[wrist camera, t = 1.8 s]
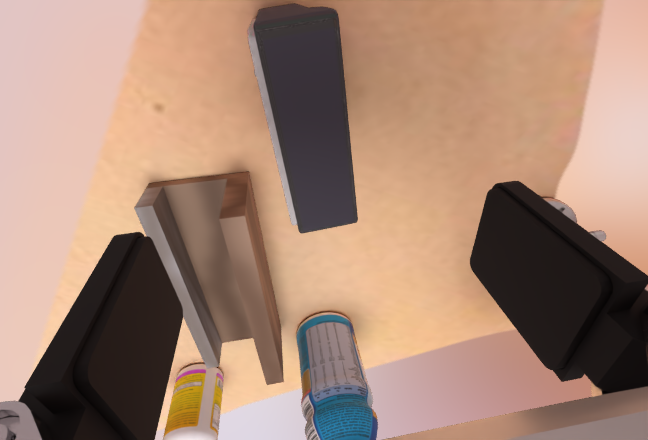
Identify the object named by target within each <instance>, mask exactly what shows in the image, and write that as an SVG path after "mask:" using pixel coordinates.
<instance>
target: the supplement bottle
mask: <svg viewBox="0 0 648 440" xmlns="http://www.w3.org/2000/svg"><path fill="white" fill-rule="evenodd" d="M222 391H223V374H222V372H221V371H220V370H219V369H218V368H216V367H213V368H206V365H205V364H195V365H191V366H188V367H186V368H184V369H183V370H181V371H180V373H179V374H178V376H177V379H176V383H175V387H174V392H173V396H172V401H171V405H170V410H169V414H168V419H167V424H166V428H165V433H164V437H163V440H217V439H218V429H219V419H220V410H221V400H222Z"/></svg>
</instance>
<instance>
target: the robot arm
mask: <svg viewBox="0 0 648 440" xmlns="http://www.w3.org/2000/svg"><path fill="white" fill-rule="evenodd" d="M605 239H606V234H605V233H604V231H601V230H599V231H592V232H587V231H586V230H585V229H584V228H582V227H581V226H579V225H578V224H577V220H576V215H575V213H574V212H573V210H572V209H571V208H570V207H569V206H567V205H566V204H565V203H563V202H561V201H560V200H557V199H553V198H541V197H540V196H539V195H537V194H536V193H535V192H533V191H532V190H531V189H529V188H528V187H527V186H525V185H524V184H522V183H521V182H519V181H511V182H504V183H497V184H495V185H494V186H493V188H492V189H491V190H489V191H488V193H487V196H486V200H485V204H484V208H483V212H482V216H481V219H480V223H479V227H478V231H477V235H476V239H475V243H474V246H473V250H472V254H471V258H470V265H471V269H472V271H473V272H474V274H475V275H476V276H477V277H478V279H479V280H480V281H481V283H482V284H483V285H484V287H485V288H486V289H487V291H488V292H489V293H490V295H491V296H492V297H493V299H494V300H495V301H496V303H497V304H498V305H499V307H500V308H501V309H502V310H503V312H504V313H505V314H506V316H507V317H508V318H509V320H510V321H511V322H512V324H513V325H514V326H515V328H516V329H517V330H518V332H519V333H520V334H521V336H522V337H523V338H524V339H525V341H526V342H527V343H528V344H529V346H530V347H531V349H532V350H533V351H534V353H535V354H536V355H537V357H538V358H539V359H540V361H541V362H542V363H543V364H544V365H545V366H546V367H547V368H548V369H550V370H553V371H554V372H555V374H556V375H557V376H558V378H559V379H560V380H561V381H562V382H563V381H568V380H573V379H578V378H582V377H583V375H584V374H585V375H586V376H587V377H588V378H589V379H590V380H591V390H592V391H591V392H592V397H589V398H584V399H579V400H574V401H569V402H564V403H559V404H554V405H549V406H545V407H539V408H534V409H530V410H524V411H520V412H514V413H509V414H505V415H500V416H495V417H490V418H485V419H480V420H475V421H470V422H465V423H461V424H456V425H451V426H447V427H442V428H437V429H432V430H427V431H422V432H417V433H412V434H407V435H403V436H398V437H393V438H388V439H384V440H648V276H647V275H646V274H645V273H643V272H642V271H641V270H639V269H638V268H636V267H635V266H634V265H632V264H631V263H630V262H628V261H627V260H626V259H624V258H623V257H622V256H620V255H619V254H617V253H616V252H615V251H613V250H612V249H611V248H609V247H608V246H607V245H605V244H604V243H602V242H601V241H604V240H605ZM182 319H183V308H182V305H181V302H180V300H179V298H178V296H177V293H176V291H175V289H174V287H173V285H172V282H171V280H170V278H169V276H168V273H167V271H166V269H165V267H164V265H163V262H162V260H161V258H160V256H159V254H158V251H157V249H156V247H155V245H154V242H153V240H152V239H151V238H150V237H148V236H147V237H144V235H143V234H142V233H140V232H135V233H128V234H121V235H116V236H114V237H113V238H112V240H111V242H110V243H109V245H108V247H107V248H106V250H105V252H104V253H103V255H102V257H101V259H100V260H99V262H98V264H97V265H96V267H95V269H94V270H93V272H92V274H91V276H90V277H89V279H88V281H87V282H86V284H85V286H84V287H83V289H82V291H81V292H80V294H79V296H78V298H77V299H76V301H75V303H74V304H73V306H72V308H71V309H70V311H69V313H68V314H67V316H66V318H65V320H64V321H63V323H62V325H61V326H60V328H59V330H58V331H57V333H56V335H55V336H54V338H53V340H52V342H51V343H50V345H49V347H48V348H47V350H46V352H45V353H44V355H43V357H42V358H41V360H40V362H39V364H38V365H37V367H36V369H35V370H34V372H33V374H32V375H31V377H30V379H29V380H28V382H27V384H26V386H25V388H26V389H25V391H24V392H23V394H22V396H21V398H20V399H19V401H6V402H0V440H154V439H155V435H156V431H157V427H158V422H159V418H160V414H161V410H162V405H163V401H164V397H165V392H166V388H167V384H168V380H169V375H170V371H171V367H172V362H173V358H174V354H175V349H176V345H177V341H178V337H179V332H180V328H181V324H182Z"/></svg>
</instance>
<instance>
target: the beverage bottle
mask: <svg viewBox="0 0 648 440" xmlns="http://www.w3.org/2000/svg"><path fill="white" fill-rule="evenodd" d="M296 337H297V345H298V350H299V359H300V370H301V381H302V393H303V397H302V402H301V403H302V404H301V405H302V412H303V415H304V417H305V419H306V421H307V424H306V427H305V434H306V438H307V440H376V437H377V428H378V422H377V416H376V413H375V412H374V411H373V409H372V408H371V407H372V402H373V398H372V393H371V389H370V387H369V385H368V383H367V379H366V375H365V372H364V368H363V364H362V361H361V357H360V353H359V350H358V346H357V342H356V338H355V335H354V330H353V326H352V323H351V322H350V320H349V319H348V318H347V317H345V316H343V315H341V314H338V313H332V312H326V313H320V314H316V315H313V316H311V317H309V318H308V319H306V320H305V321H304V322H303V323H302V324H301V325H300V326H299V328H298V330H297V335H296Z"/></svg>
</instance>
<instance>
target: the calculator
mask: <svg viewBox="0 0 648 440" xmlns="http://www.w3.org/2000/svg"><path fill="white" fill-rule="evenodd" d="M248 42H249V47H250V51H251V56H252V60H253V64H254V68H255V69H254V73H255V76H256V77H257V81H258V85H259V89H260V93H261V98H262V102H263V106H264V110H265V115H266V119H267V123H268V127H269V131H270V136H271V140H272V144H273V148H274V152H275V157H276V161H277V165H278V169H279V174H280V178H281V182H282V186H283V190H284V195H285V199H286V203H287V207H288V211H289V216H290V220H291V223H292V225H298V229H299V232H300V233H307V232H312V231H317V230H322V229H327V228H332V227H337V226H342V225H347V224H352V223H356V222H357V220H358V217H357V206H356V196H355V185H354V175H353V164H352V154H351V143H350V133H349V122H348V112H347V101H346V91H345V80H344V70H343V59H342V48H341V38H340V27H339V18H338V14H337V11H336V10H334V9H332V8H327V7H312V8H308V7H304V6H301V5H298V4H295V3H294V4H288V5H282V6H276V7H270V8H264V9H260V10H259V11H258V14H257V16H256V18H254V19H252V22H251V24H250V26H249V28H248Z"/></svg>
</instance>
